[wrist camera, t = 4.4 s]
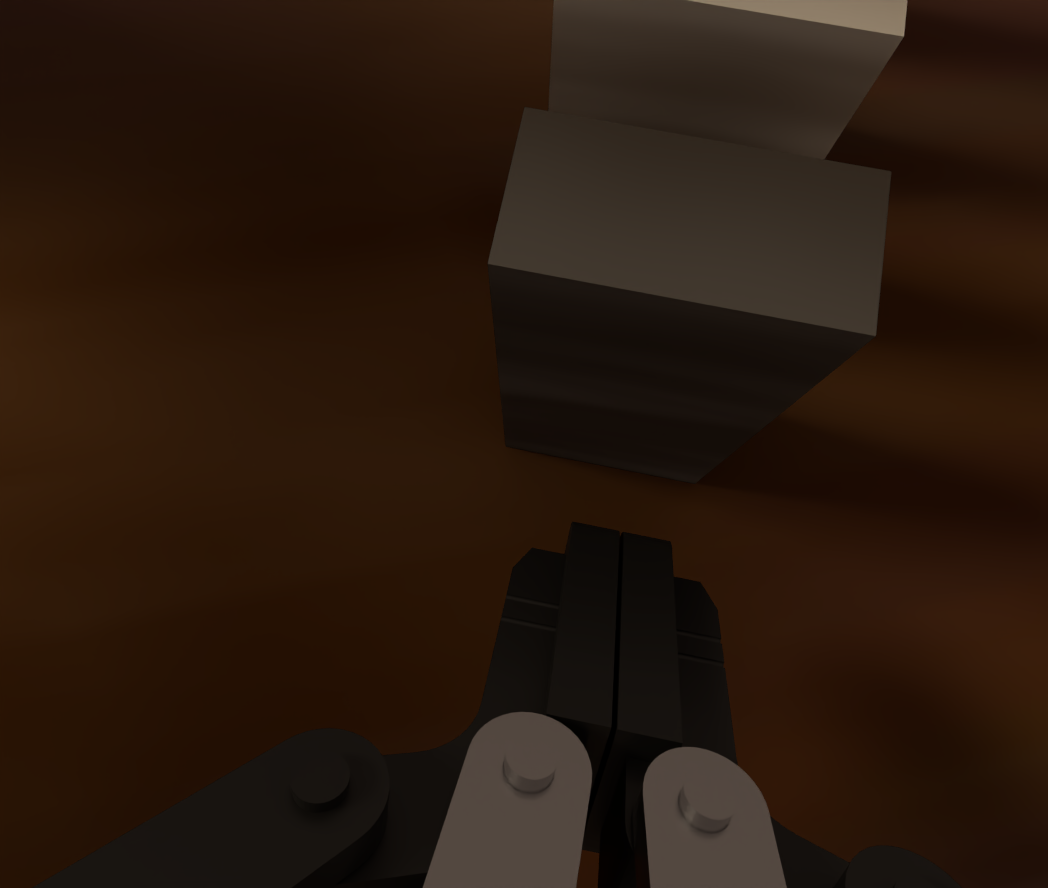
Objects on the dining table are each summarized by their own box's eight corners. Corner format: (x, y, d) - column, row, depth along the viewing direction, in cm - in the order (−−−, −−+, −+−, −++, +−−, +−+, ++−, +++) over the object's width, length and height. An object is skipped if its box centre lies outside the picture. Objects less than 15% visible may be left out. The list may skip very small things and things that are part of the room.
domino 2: (694, 483, 19) (875, 335, 9) (506, 446, 19) (487, 263, 9) (707, 396, 19) (891, 171, 10) (523, 361, 20) (524, 106, 10)
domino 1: (718, 321, 20) (904, 36, 10) (539, 288, 20) (555, -22, 11) (730, 243, 21) (917, -97, 11) (555, 212, 21) (585, -149, 11)
